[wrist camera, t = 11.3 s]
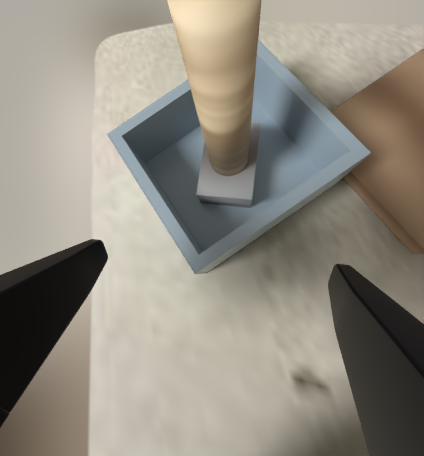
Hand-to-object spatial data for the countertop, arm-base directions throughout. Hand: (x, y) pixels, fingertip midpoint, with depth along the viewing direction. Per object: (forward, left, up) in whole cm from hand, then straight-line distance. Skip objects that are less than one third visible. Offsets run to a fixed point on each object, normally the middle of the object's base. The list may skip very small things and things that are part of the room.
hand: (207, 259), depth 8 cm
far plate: (+17, -1, -9) cm, 19 cm away
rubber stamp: (+5, +6, -8) cm, 11 cm away
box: (+5, +6, -9) cm, 12 cm away
